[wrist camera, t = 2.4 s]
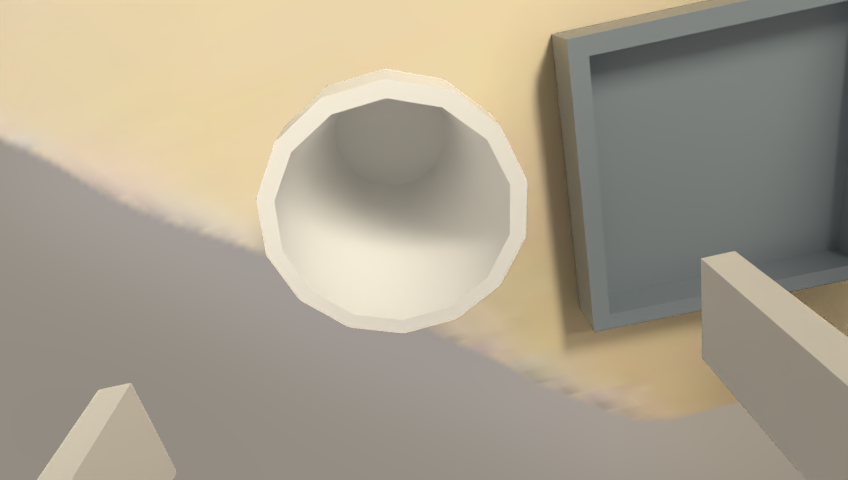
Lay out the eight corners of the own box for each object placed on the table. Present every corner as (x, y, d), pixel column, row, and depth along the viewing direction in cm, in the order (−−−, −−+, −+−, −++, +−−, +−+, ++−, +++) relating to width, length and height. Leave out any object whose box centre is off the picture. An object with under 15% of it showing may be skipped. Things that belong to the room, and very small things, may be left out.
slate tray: (551, 34, 31) (566, 39, 28) (874, -36, 31) (919, -37, 28) (580, 308, 38) (594, 332, 35) (843, 253, 37) (877, 273, 35)
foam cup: (335, 228, 35) (311, 359, 23) (277, 71, 31) (211, 130, 19) (492, 183, 34) (551, 292, 22) (452, 18, 30) (497, 44, 18)
